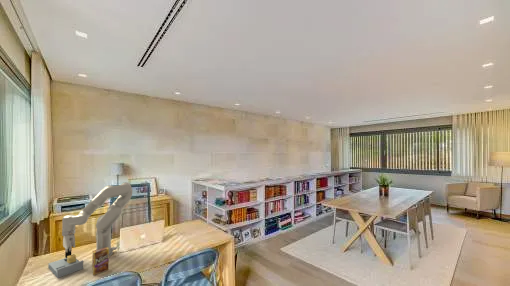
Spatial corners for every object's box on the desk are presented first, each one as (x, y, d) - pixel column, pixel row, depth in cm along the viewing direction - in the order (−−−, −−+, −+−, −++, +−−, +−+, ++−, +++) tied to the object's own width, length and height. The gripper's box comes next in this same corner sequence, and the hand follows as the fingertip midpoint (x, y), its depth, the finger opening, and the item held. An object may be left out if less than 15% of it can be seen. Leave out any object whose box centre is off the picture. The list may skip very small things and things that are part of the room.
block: (73, 259, 164) (73, 254, 164) (75, 261, 162) (75, 255, 162) (66, 261, 161) (67, 256, 161) (68, 263, 159) (68, 257, 159)
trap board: (72, 259, 170) (72, 252, 170) (83, 268, 158) (83, 260, 158) (48, 267, 159) (48, 259, 159) (57, 278, 146) (57, 269, 147)
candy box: (93, 275, 150) (93, 252, 150) (91, 273, 152) (92, 250, 153) (108, 270, 156) (109, 248, 156) (106, 268, 159) (107, 246, 159)
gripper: (78, 233, 165) (78, 258, 165) (71, 228, 173) (71, 252, 173) (65, 236, 159) (65, 262, 158) (59, 231, 167) (58, 256, 167)
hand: (68, 257), depth 166 cm, fingers closed
